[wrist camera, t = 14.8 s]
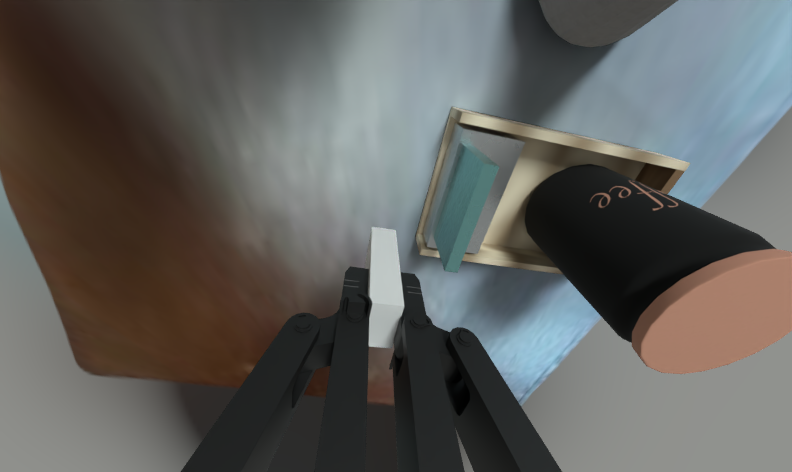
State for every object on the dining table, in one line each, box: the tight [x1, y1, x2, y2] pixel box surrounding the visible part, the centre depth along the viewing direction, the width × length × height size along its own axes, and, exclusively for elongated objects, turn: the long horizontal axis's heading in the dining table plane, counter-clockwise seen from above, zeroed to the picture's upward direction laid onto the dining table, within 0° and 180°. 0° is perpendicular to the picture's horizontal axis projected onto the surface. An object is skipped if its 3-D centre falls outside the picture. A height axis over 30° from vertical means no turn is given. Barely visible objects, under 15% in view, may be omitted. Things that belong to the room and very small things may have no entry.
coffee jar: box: [525, 164, 792, 374], centre depth 25 cm, size 11×11×18 cm
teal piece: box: [423, 123, 525, 272], centre depth 27 cm, size 6×13×9 cm, turn 169°
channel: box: [416, 107, 690, 274], centre depth 31 cm, size 24×15×4 cm, turn 78°
